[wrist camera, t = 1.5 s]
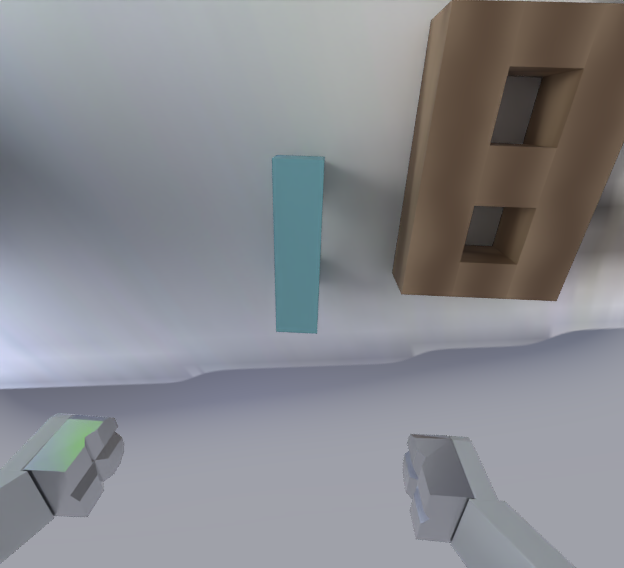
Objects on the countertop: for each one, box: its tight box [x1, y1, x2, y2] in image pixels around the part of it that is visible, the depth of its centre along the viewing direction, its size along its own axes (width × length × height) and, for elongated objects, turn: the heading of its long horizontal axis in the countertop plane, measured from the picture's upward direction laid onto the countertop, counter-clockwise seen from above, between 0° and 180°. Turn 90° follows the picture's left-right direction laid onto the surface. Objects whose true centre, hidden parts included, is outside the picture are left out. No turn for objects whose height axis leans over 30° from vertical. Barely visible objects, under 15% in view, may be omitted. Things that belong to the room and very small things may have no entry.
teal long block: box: [272, 155, 325, 334], centre depth 24 cm, size 3×12×7 cm, turn 179°
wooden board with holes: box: [392, 0, 624, 301], centre depth 23 cm, size 12×18×4 cm, turn 178°
